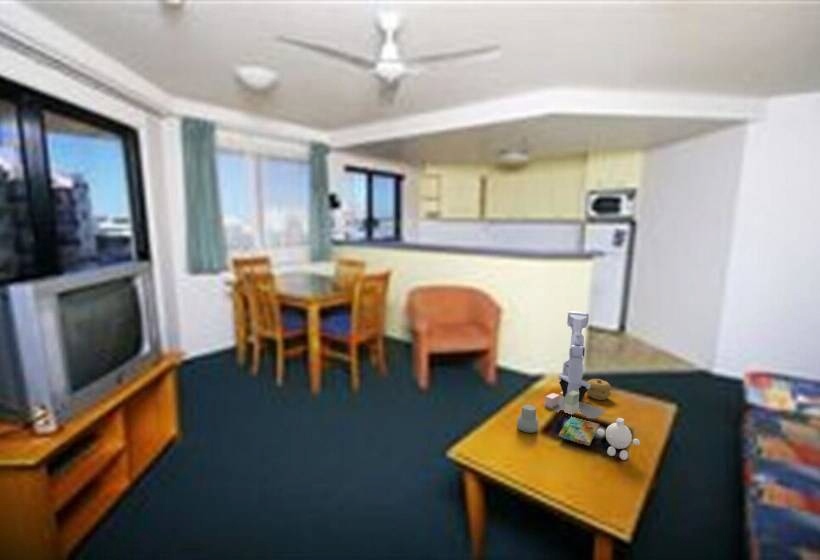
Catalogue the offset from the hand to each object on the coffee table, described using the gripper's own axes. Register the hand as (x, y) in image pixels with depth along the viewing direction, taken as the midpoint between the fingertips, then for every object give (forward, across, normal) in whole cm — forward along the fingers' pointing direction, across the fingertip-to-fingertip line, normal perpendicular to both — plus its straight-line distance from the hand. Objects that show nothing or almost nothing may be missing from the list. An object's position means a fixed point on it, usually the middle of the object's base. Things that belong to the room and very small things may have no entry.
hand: (572, 398), depth 200 cm
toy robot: (+7, +29, -21) cm, 37 cm away
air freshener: (+7, -4, -31) cm, 32 cm away
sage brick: (+2, 0, 0) cm, 2 cm away
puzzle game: (+8, +13, -19) cm, 24 cm away
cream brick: (+7, 0, 0) cm, 7 cm away
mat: (+7, -1, +5) cm, 9 cm away
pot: (+7, 0, +28) cm, 29 cm away
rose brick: (+7, -10, 0) cm, 12 cm away
